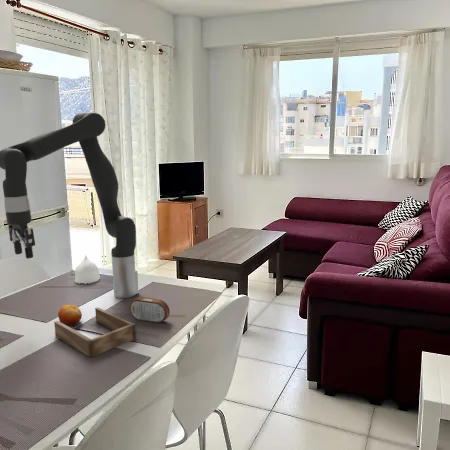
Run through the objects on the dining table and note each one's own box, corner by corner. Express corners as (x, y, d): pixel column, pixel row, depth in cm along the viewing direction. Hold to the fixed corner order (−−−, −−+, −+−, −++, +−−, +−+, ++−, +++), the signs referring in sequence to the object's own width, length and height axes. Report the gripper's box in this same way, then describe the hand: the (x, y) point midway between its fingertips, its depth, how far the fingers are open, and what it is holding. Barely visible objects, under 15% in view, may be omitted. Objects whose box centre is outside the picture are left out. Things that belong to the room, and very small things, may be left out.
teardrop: (89, 274, 209) (87, 250, 207) (104, 278, 203) (103, 254, 200) (70, 281, 200) (67, 256, 198) (85, 285, 194) (83, 259, 191)
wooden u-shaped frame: (99, 320, 156) (98, 307, 155) (136, 338, 141) (135, 324, 140) (55, 335, 144) (54, 321, 143) (90, 357, 129) (89, 341, 128)
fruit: (56, 316, 156) (67, 297, 155) (77, 326, 158) (87, 307, 157) (50, 325, 148) (60, 306, 147) (71, 335, 150) (81, 316, 149)
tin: (170, 321, 154) (169, 299, 152) (166, 325, 151) (165, 302, 150) (133, 316, 159) (132, 294, 157) (128, 320, 156) (127, 297, 154)
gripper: (38, 209, 143) (44, 256, 146) (20, 205, 152) (26, 250, 155) (15, 213, 137) (22, 262, 141) (-3, 208, 147) (4, 254, 150)
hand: (24, 255), depth 148 cm, fingers open, 8 cm apart
